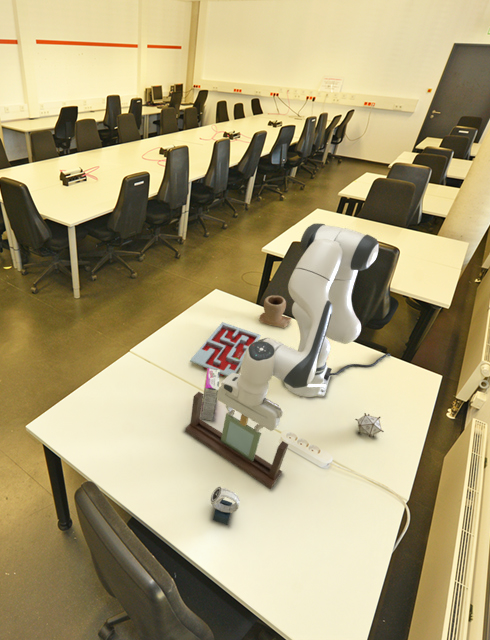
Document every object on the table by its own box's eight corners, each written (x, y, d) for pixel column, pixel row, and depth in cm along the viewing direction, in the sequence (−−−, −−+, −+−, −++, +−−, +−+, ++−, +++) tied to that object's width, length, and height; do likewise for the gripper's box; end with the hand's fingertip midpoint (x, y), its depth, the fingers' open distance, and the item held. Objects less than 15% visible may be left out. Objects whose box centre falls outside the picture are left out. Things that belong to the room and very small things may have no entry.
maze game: (221, 327, 195) (222, 322, 193) (259, 340, 187) (260, 335, 185) (189, 365, 171) (190, 360, 169) (231, 382, 163) (232, 376, 161)
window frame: (196, 420, 145) (201, 387, 135) (280, 474, 128) (293, 441, 118) (185, 431, 141) (188, 398, 131) (270, 489, 123) (282, 455, 113)
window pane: (222, 440, 136) (229, 403, 125) (253, 460, 129) (264, 424, 119) (219, 442, 135) (227, 406, 124) (251, 463, 128) (262, 426, 118)
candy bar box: (202, 398, 155) (207, 367, 145) (215, 400, 154) (220, 369, 144) (200, 419, 146) (204, 387, 136) (213, 421, 145) (218, 389, 136)
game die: (364, 436, 146) (387, 420, 142) (370, 448, 138) (394, 430, 134) (346, 420, 146) (368, 403, 143) (350, 430, 138) (373, 412, 135)
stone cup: (256, 325, 197) (261, 299, 188) (261, 314, 206) (267, 289, 197) (286, 333, 192) (293, 307, 183) (290, 321, 201) (298, 296, 192)
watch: (210, 501, 119) (215, 480, 113) (236, 510, 117) (242, 489, 111) (206, 517, 115) (210, 496, 109) (233, 527, 113) (239, 506, 107)
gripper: (288, 402, 112) (278, 434, 120) (228, 370, 123) (222, 401, 131) (278, 414, 108) (268, 446, 116) (216, 380, 119) (211, 411, 127)
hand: (243, 422), depth 123 cm, fingers open, 8 cm apart
